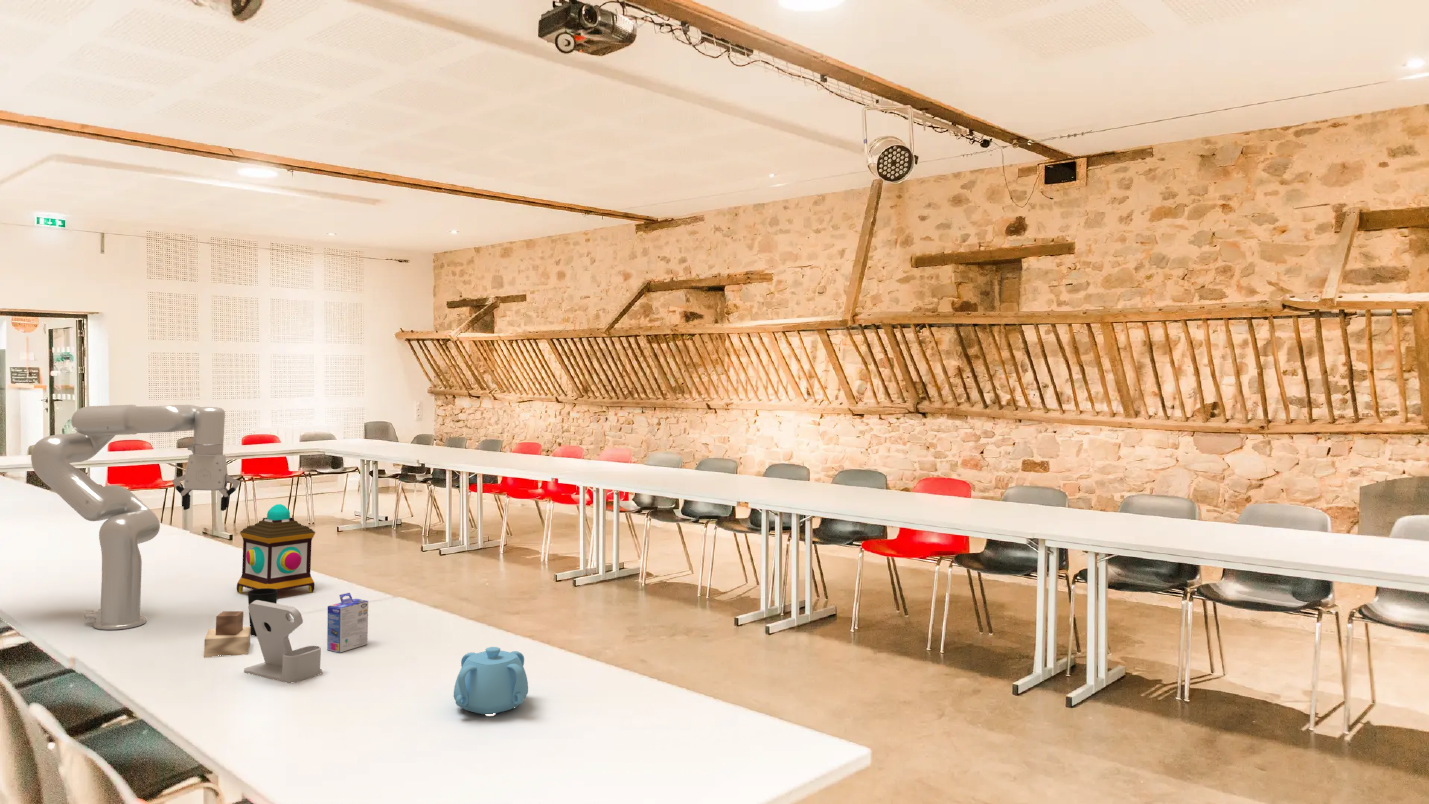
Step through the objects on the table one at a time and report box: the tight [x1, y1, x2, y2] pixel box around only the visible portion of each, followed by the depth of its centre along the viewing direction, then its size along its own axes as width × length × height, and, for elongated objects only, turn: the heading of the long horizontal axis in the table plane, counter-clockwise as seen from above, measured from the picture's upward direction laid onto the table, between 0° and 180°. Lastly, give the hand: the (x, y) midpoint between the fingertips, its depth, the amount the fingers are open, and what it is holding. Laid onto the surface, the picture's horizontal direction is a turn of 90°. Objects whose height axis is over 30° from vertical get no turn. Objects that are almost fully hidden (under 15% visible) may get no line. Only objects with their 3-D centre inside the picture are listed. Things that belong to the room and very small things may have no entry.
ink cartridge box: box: [326, 592, 369, 653], centre depth 243 cm, size 10×6×14 cm, turn 155°
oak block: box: [203, 626, 251, 658], centre depth 236 cm, size 10×10×5 cm
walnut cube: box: [215, 610, 244, 635], centre depth 236 cm, size 5×5×5 cm
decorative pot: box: [453, 646, 529, 715], centre depth 203 cm, size 16×16×14 cm
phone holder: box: [243, 600, 323, 684], centre depth 220 cm, size 17×10×18 cm, turn 66°
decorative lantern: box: [236, 503, 316, 594], centre depth 299 cm, size 20×20×30 cm
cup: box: [247, 588, 279, 637], centre depth 252 cm, size 8×8×12 cm
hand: (205, 509), depth 256 cm, fingers open, 9 cm apart
